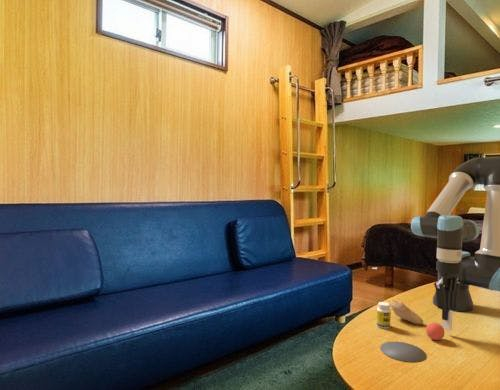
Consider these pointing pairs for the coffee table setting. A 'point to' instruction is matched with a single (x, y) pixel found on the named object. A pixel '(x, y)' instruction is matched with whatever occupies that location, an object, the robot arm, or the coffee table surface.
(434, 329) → the ball
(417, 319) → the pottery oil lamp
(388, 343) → the disc
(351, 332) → the coffee table surface
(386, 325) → the supplement bottle
